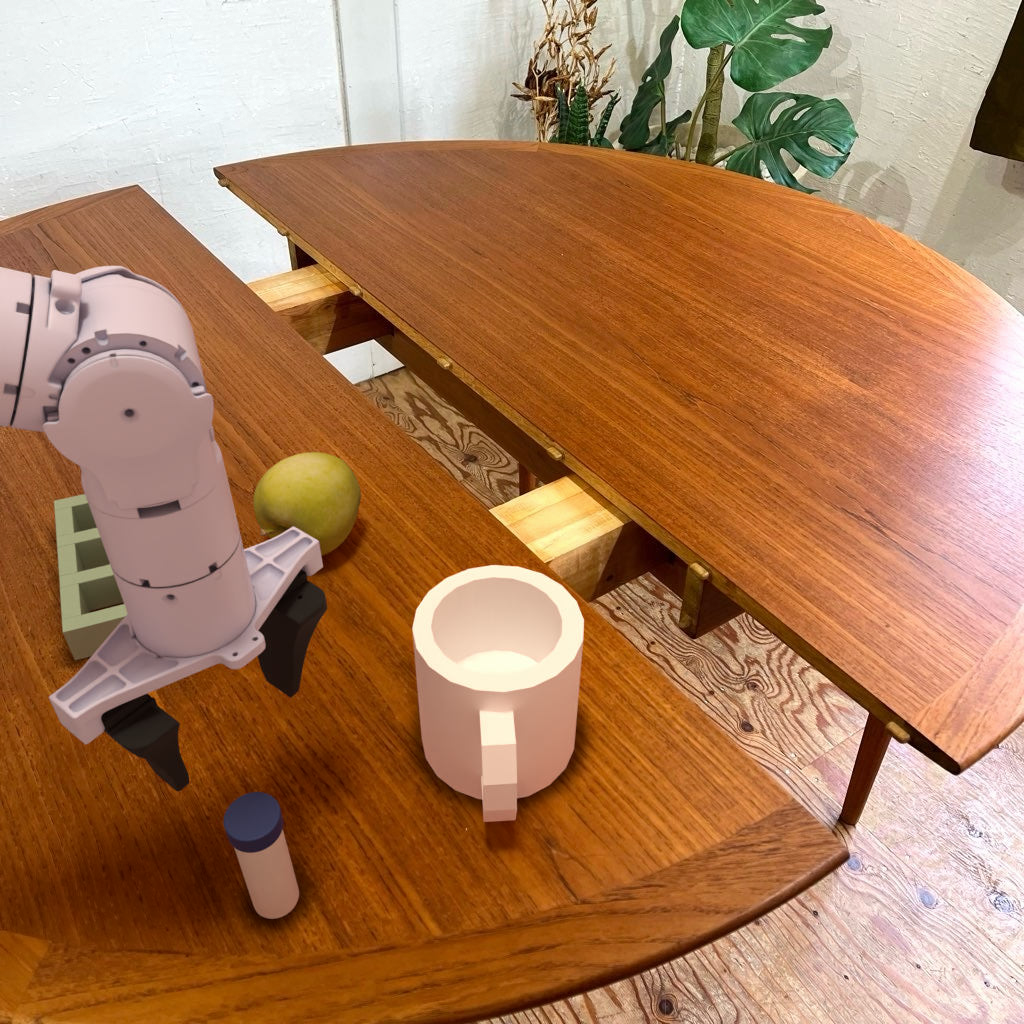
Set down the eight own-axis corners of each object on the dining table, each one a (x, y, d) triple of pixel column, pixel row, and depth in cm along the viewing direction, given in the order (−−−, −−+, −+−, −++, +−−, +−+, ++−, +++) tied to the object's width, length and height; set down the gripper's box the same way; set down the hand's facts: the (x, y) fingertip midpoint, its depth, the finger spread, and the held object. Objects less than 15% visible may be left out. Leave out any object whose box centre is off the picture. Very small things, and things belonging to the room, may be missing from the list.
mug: (592, 844, 58) (604, 736, 51) (422, 855, 57) (411, 747, 50) (565, 670, 68) (573, 561, 61) (421, 678, 67) (412, 568, 60)
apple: (238, 563, 76) (219, 484, 71) (305, 498, 82) (292, 421, 77) (320, 594, 74) (306, 515, 68) (383, 524, 80) (375, 447, 75)
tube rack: (161, 637, 70) (152, 609, 68) (74, 661, 68) (62, 632, 66) (140, 511, 81) (131, 483, 79) (64, 528, 79) (53, 500, 77)
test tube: (264, 931, 53) (238, 851, 48) (241, 892, 55) (213, 810, 50) (310, 901, 55) (290, 820, 49) (287, 864, 57) (264, 781, 51)
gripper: (86, 686, 37) (166, 870, 46) (352, 498, 46) (376, 682, 55) (-13, 605, 40) (78, 791, 49) (253, 444, 49) (290, 626, 58)
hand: (229, 729), depth 52 cm, fingers open, 7 cm apart
